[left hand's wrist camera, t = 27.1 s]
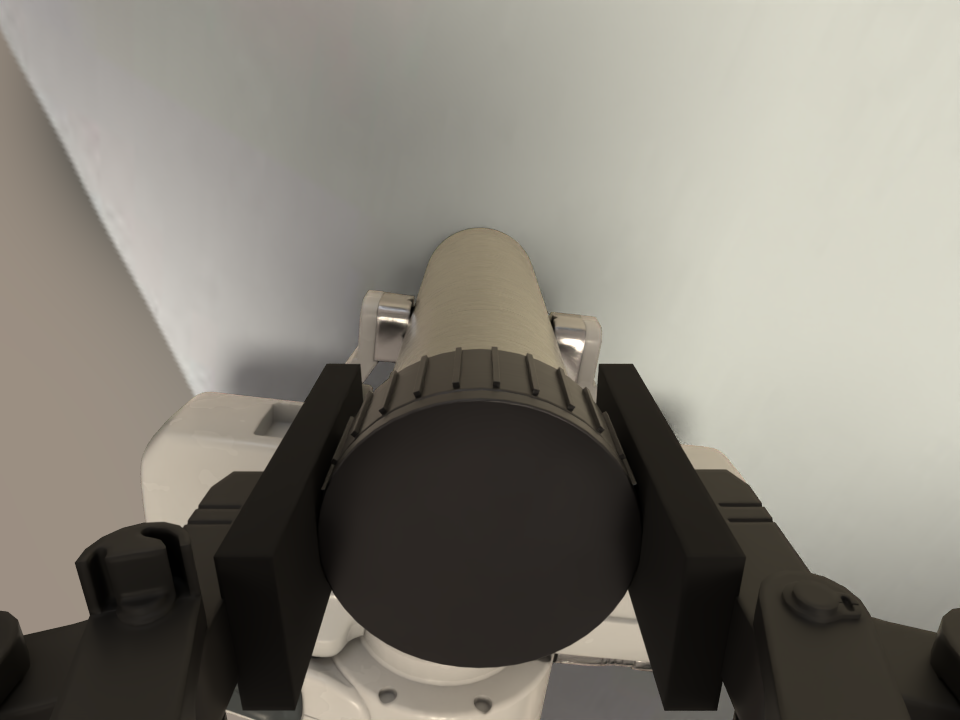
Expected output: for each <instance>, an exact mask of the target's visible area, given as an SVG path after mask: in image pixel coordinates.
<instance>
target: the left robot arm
mask: <svg viewBox="0 0 960 720" xmlns="http://www.w3.org/2000/svg"><path fill="white" fill-rule="evenodd" d="M362 404H363V390H362V376H361V364H326V366H325V368H324V369H323V371H322V373H321V374H320V376H319V378H318V380H317V381H316V383H315V385H314V386H313V388H312V390H311V391H310V393H309V395H308V397H307V398H306V400H305V402H304V403H303V405H302V407H301V408H300V410H299V412H298V414H297V415H296V417H295V419H294V420H293V422H292V424H291V426H290V427H289V429H288V431H287V432H286V434H285V436H284V437H283V439H282V441H281V443H280V444H279V446H278V448H277V449H276V451H275V453H274V454H273V456H272V458H271V460H270V461H269V463H268V465H267V466H266V468H265V470H264V471H233V472H232V473H230V474H229V475H227V476H226V477H225V478H223V479H222V480H220V481H219V482H217V483H216V484H215V485H213V486H212V487H211V488H210V489H209V491H208V492H207V494H206V495H205V496H204V498H203V499H202V501H201V502H200V504H199V505H198V509H195V511H194V512H193V514H192V515H191V516H190V518H189V519H188V523H187V525H184V526H183V528H182V527H181V526H180V525H176V524H172V523H168V522H146V523H141V524H137V525H133V526H129V527H124V528H122V529H119V530H117V531H115V532H113V533H110V534H108V535H106V536H104V537H102V538H100V539H99V540H97V541H96V542H95V543H93V544H92V545H91V546H89V547H88V548H86V549H85V550H84V552H83V553H82V554H81V555H80V557H79V558H78V559H77V561H76V562H75V565H76V569H77V572H78V575H79V579H80V582H81V586H82V589H83V593H84V596H85V600H86V603H87V606H88V610H89V613H90V617H89V619H88V620H85V621H82V622H79V623H75V624H72V625H67V626H63V627H58V628H54V629H50V630H45V631H41V632H37V633H32V634H28V635H23V634H22V631H21V628H20V625H19V622H18V620H17V619H16V618H15V617H14V616H12V615H11V614H10V613H9V612H6V611H0V720H227V716H226V709H227V706H228V704H229V702H230V699H231V697H232V695H233V692H234V690H235V687H236V685H237V684H238V689H239V694H240V700H241V705H242V710H243V711H295V709H296V706H297V703H298V699H299V696H300V693H301V690H302V686H303V683H304V680H305V676H306V673H307V670H308V667H309V663H310V660H311V657H312V653H313V650H314V647H315V643H316V640H317V637H318V634H319V630H320V627H321V624H322V620H323V617H324V614H325V611H326V607H327V604H328V601H329V597H330V594H331V591H332V589H331V588H330V586H329V584H328V582H327V580H326V577H325V575H324V572H323V569H322V566H321V563H320V556H319V548H318V539H317V518H318V511H319V506H320V503H321V500H322V496H323V495H321V488H322V485H323V483H324V481H325V478H326V476H327V473H328V471H329V468H330V466H331V461H332V458H333V456H334V454H335V451H336V449H337V446H338V444H339V442H340V439H341V437H342V434H343V432H344V430H345V427H346V425H347V422H348V420H349V418H350V416H352V417H354V418H355V416H356V414H357V413H358V411H359V410H360V408H361V406H362ZM596 404H597V406H598V407H599V409H600V410H601V412H602V413H604V412H605V411H606V412H607V414H608V415H609V418H610V420H611V422H612V425H613V427H614V430H615V432H616V435H617V437H618V439H619V441H620V444H621V446H622V448H623V451H624V453H625V456H626V458H627V460H628V463H629V465H630V468H631V470H632V472H633V475H634V477H635V480H636V482H637V485H638V489H636V490H635V491H636V494H637V497H638V501H639V505H640V508H641V513H642V522H643V535H642V544H641V553H640V560H639V565H638V568H637V570H636V573H635V576H634V579H633V581H632V583H631V585H630V587H629V589H628V592H629V595H630V599H631V602H632V605H633V609H634V612H635V615H636V618H637V622H638V625H639V628H640V632H641V635H642V638H643V641H644V645H645V648H646V651H647V655H648V658H649V661H650V664H651V668H652V671H653V674H654V678H655V681H656V684H657V688H658V691H659V694H660V697H661V701H662V704H663V707H664V711H717V708H718V703H719V698H720V692H721V687H722V682H723V683H724V685H725V687H726V690H727V692H728V695H729V697H730V699H731V702H732V704H733V707H734V709H735V711H734V716H733V720H960V608H957V609H952V610H951V611H950V612H948V613H947V614H946V615H945V616H943V618H942V620H941V623H940V626H939V629H938V632H937V633H935V632H931V631H927V630H922V629H918V628H913V627H909V626H904V625H900V624H896V623H891V622H887V621H883V620H880V619H877V618H873V617H871V615H870V614H869V612H868V611H867V609H866V608H865V606H864V605H863V603H862V602H861V600H860V599H859V598H857V597H856V596H855V595H854V594H853V593H851V592H850V591H849V590H848V589H846V588H845V587H844V586H842V585H840V584H838V583H836V582H834V581H832V580H830V579H828V578H826V577H823V576H819V575H816V574H812V573H811V572H810V571H809V570H808V568H807V567H806V565H805V564H804V562H803V561H802V560H801V558H800V557H799V555H798V554H797V552H796V551H795V550H794V548H793V547H792V545H791V544H790V543H789V541H788V540H787V538H786V537H785V535H784V534H783V533H782V531H781V530H780V528H779V527H778V526H777V524H776V523H775V522H773V521H772V517H771V516H770V514H769V513H768V511H767V510H766V509H765V507H762V503H761V501H760V500H759V499H758V497H757V496H756V494H755V493H754V492H753V490H752V489H751V487H750V486H749V485H748V484H747V483H745V482H744V481H742V480H741V479H740V478H738V477H737V476H735V475H734V474H732V473H731V472H730V471H728V470H727V469H694V467H693V465H692V464H691V462H690V460H689V459H688V457H687V455H686V453H685V452H684V450H683V448H682V447H681V445H680V443H679V442H678V440H677V438H676V436H675V435H674V433H673V431H672V430H671V428H670V426H669V424H668V423H667V421H666V419H665V418H664V416H663V414H662V413H661V411H660V409H659V407H658V406H657V404H656V402H655V401H654V399H653V397H652V396H651V394H650V392H649V390H648V389H647V387H646V385H645V384H644V382H643V380H642V379H641V377H640V375H639V373H638V372H637V370H636V368H635V367H634V365H633V364H599V371H598V385H597V398H596Z"/></svg>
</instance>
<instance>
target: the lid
mask: <svg viewBox="0 0 960 720" xmlns="http://www.w3.org/2000/svg"><path fill="white" fill-rule="evenodd" d="M636 489H638V485H637V482H636V480H635V477H634V475H633V472H632V470H631V468H630V465H629V463H628V460H627V458H626V456H625V453H624V451H623V448H622V446H621V444H620V441H619V439H618V437H617V435H616V432H615V430H614V427H613V425H612V422H611V420H610V418H609V415H608V414H607V412H606V411H605V412H604V413H602V412H601V410H600V409H599V407H598V406H597V404H596V403H595V402H594V400H593V398H592V395H591V393H590V390H589V389H588V388H587V387H585V388H584V389H583V388H581V387H580V386H579V385H578V384H577V383H576V382H575V381H573V380H572V379H571V378H570V377H568V376H567V375H565V372H564V369H562V368H560V367H558V369H556V368H554V367H552V366H550V365H548V364H546V363H543V362H541V361H539V360H537V359H534V358H533V355H532V354H529V353H527V354H526V356H525V355H522V354H518V353H513V352H507V351H502V350H498V347H492V348H491V349H468V350H462V347H458V348H456V350H455V351H452V352H447V353H442V354H438V355H435V356H432V357H429V358H428V357H427V355H425V356H422V357H421V361H418V362H416V363H414V364H412V365H410V366H407V367H406V368H404V369H402V370H401V371H399V372H397V371H396V370H394V371H393V372H391V374H390V377H389V379H388V380H386V381H385V382H384V383H383V384H382V385H380V386H379V387H378V388H377V389H376V390H375V391H374V392H373V393H372V392H371V391H369V392H368V393H367V394H366V396H365V399H364V401H363V404H362V406H361V408H360V410H359V411H358V413H357V414H356V416H355V418H354V417H352V416H350V418H349V420H348V422H347V425H346V427H345V430H344V432H343V434H342V437H341V439H340V442H339V444H338V446H337V449H336V451H335V454H334V456H333V458H332V461H331V466H330V468H329V471H328V473H327V476H326V478H325V481H324V483H323V485H322V488H321V495H323V496H322V500H321V503H320V506H319V511H318V518H317V539H318V548H319V556H320V563H321V566H322V569H323V572H324V575H325V577H326V580H327V582H328V584H329V586H330V588H331V589H332V591H333V593H334V595H335V596H336V598H337V599H338V601H339V602H340V603H341V605H342V606H343V608H344V609H345V610H346V611H347V612H348V613H349V614H350V615H351V617H352V618H353V619H354V620H355V621H356V622H357V623H358V624H360V625H361V626H362V627H363V628H364V629H366V630H367V631H368V632H369V633H370V634H372V635H373V636H375V637H376V638H378V639H379V640H381V641H382V642H384V643H386V644H387V645H389V646H391V647H393V648H395V649H397V650H399V651H401V652H403V653H406V654H408V655H411V656H414V657H416V658H419V659H422V660H426V661H430V662H434V663H437V664H442V665H448V666H455V667H465V668H496V667H504V666H511V665H518V664H522V663H526V662H530V661H534V660H537V659H540V658H543V657H546V656H549V655H551V654H554V653H556V652H558V651H560V650H562V649H564V648H566V647H568V646H571V645H572V644H574V643H575V642H577V641H579V640H580V639H582V638H583V637H585V636H586V635H588V634H589V633H590V632H591V631H593V630H594V629H595V628H596V627H598V626H599V625H600V624H601V623H602V622H603V621H604V620H605V619H606V618H607V617H608V616H609V615H610V614H611V613H612V612H613V611H614V609H615V608H616V607H617V605H618V604H619V603H620V601H621V600H622V599H623V597H624V596H625V594H626V592H627V590H628V589H629V587H630V585H631V583H632V581H633V579H634V576H635V573H636V570H637V568H638V565H639V560H640V553H641V544H642V535H643V522H642V513H641V508H640V505H639V501H638V497H637V494H636V491H635V490H636Z"/></svg>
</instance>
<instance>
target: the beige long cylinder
mask: <svg viewBox="0 0 960 720" xmlns="http://www.w3.org/2000/svg"><path fill="white" fill-rule="evenodd" d="M458 347H462V350H468V349H491V348H492V347H498V350H502V351H507V352H513V353H518V354H522V355H525V356H526V354H527V353H529V354H532V355H533V358H534V359H537V360H539V361H541V362H543V363H546V364H548V365H550V366H552V367H554V368H556V369H558V367H560V368H562V369H564V372H565V375H567V376H568V374H567V371H566V368H565V365H564V362H563V359H562V356H561V353H560V350H559V347H558V344H557V340H556V337H555V334H554V331H553V328H552V325H551V322H550V319H549V316H548V313H547V310H546V307H545V304H544V300H543V297H542V294H541V291H540V288H539V285H538V282H537V279H536V276H535V273H534V270H533V267H532V264H531V261H530V259H529V257H528V255H527V253H526V252H525V251H524V249H523V248H522V247H521V246H520V245H519V244H518V243H517V242H516V241H515V240H514V239H512V238H511V237H510V236H508V235H506V234H504V233H502V232H500V231H497V230H493V229H488V228H472V229H466V230H463V231H460V232H458V233H455V234H453V235H452V236H450V237H448V238H447V239H446V240H444V241H443V242H442V243H441V244H440V245H439V246H438V247H437V249H436V250H435V251H434V253H433V254H432V256H431V258H430V260H429V263H428V265H427V268H426V271H425V274H424V278H423V281H422V284H421V287H420V290H419V293H418V296H417V299H416V302H415V305H414V308H413V311H412V314H411V318H410V321H409V324H408V327H407V330H406V333H405V336H404V339H403V342H402V345H401V348H400V351H399V354H398V358H397V361H396V364H395V367H394V370H396V371H397V372H399V371H401V370H402V369H404V368H406V367H407V366H410V365H412V364H414V363H416V362H418V361H421V357H422V356H425V355H427V357H428V358H429V357H432V356H435V355H438V354H442V353H447V352H452V351H455V350H456V348H458ZM394 370H393V371H394Z"/></svg>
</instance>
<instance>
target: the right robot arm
mask: <svg viewBox="0 0 960 720" xmlns="http://www.w3.org/2000/svg"><path fill="white" fill-rule="evenodd" d="M414 299H415V297H414V296H411V295H403V294H396V293H389V292H384V291H373V290H368V292H367V294H366V295H365V297H364V299H363V302H362V307H361V313H360V324H359V341H358V346H357V348H356V349H355V351H354V352H353V353H352V355H351V356H350V357H349V359H348V360H347V362H346V363H345V364H361V376H362V390H363V401H364V399H365V396H366V394H367V393H368V392H369V391H371V392H372V393H373V388H372V387H371V386H370V385H366V384H363V382H364V381H365V380H366V378H367V377H368V376H369V374H370V373H371V371H372V370H373V369H374V367H375V366H376V365H377V363H378V362H379V361H385V362H396V361H397V358H398V354H399V351H400V348H401V345H402V342H403V339H404V336H405V333H406V330H407V327H408V324H409V321H410V318H411V314H412V311H413V308H414ZM549 319H550V322H551V325H552V328H553V331H554V334H555V337H556V340H557V344H558V347H559V350H560V353H561V356H562V359H563V362H564V365H565V368H566V371H567V374H568V377H570V378H571V379H572V380H573V381H575V382H576V383H577V384H578V385H579V386H580V387H581V388H583V389H584V388H585V387H587V388H588V389H589V390H590V393H591V395H592V398H593V400H594V402H595V403H596V398H597V386H596V384H595V381H594V377H595V372H596V367H597V362H598V357H599V352H600V347H601V342H602V329H601V326H600V324H599V322H598V320H597V319H596V317H592V316H583V315H575V314H566V313H556V312H551V313H550V315H549ZM303 403H304V402H297V401H288V400H279V399H270V398H261V397H252V396H243V395H234V394H226V393H218V392H204V393H201V394H198V395H196V396H195V397H194V398H192V399H191V400H190V401H189V402H188V403H186V404H185V405H184V406H183V407H182V408H180V409H179V410H178V411H177V412H176V413H175V414H174V415H173V416H171V417H170V418H169V419H168V420H167V421H166V422H165V423H164V425H163V426H162V427H161V428H160V429H159V430H158V432H157V433H156V434H155V435H154V436H153V438H152V439H151V441H150V442H149V443H148V445H147V447H146V449H145V451H144V453H143V456H142V460H141V490H142V500H143V508H144V516H145V523H146V522H168V523H172V524H176V525H180V526H181V527H182V528H183V526H184V525H187V523H188V519H189V518H190V516H191V515H192V514H193V512H194V511H195V509H198V505H199V504H200V502H201V501H202V499H203V498H204V496H205V495H206V494H207V492H208V491H209V489H210V488H211V487H212V486H213V485H215V484H216V483H217V482H219V481H220V480H222V479H223V478H225V477H226V476H227V475H229V474H230V473H232V472H233V471H264V470H265V468H266V466H267V465H268V463H269V461H270V460H271V458H272V456H273V454H274V453H275V451H276V449H277V448H278V446H279V444H280V443H281V441H282V439H283V437H284V436H285V434H286V432H287V431H288V429H289V427H290V426H291V424H292V422H293V420H294V419H295V417H296V415H297V414H298V412H299V410H300V408H301V407H302V405H303ZM680 445H681V447H682V448H683V450H684V452H685V453H686V455H687V457H688V459H689V460H690V462H691V464H692V465H693V467H694V469H727V470H728V471H730V472H731V473H732V474H734V475H735V476H737V477H738V478H740V479H741V480H742V481H744V482H745V480H744V479H743V477H742V476H741V475H740V473H739V472H738V471H737V470H736V468H735V467H734V466H733V465H732V463H731V462H730V461H729V460H728V458H727V457H726V456H725V455H724V454H723V453H722V452H720V451H719V450H717V449H714V448H709V447H702V446H693V445H684V444H680ZM745 483H746V482H745ZM554 662H555V663H564V664H574V665H585V666H606V665H608V666H611V665H615V666H620V665H621V666H626V667H631V668H632V669H635V670H639V671H652V668H651V664H650V661H649V658H648V655H647V651H646V648H645V645H644V641H643V638H642V635H641V632H640V628H639V625H638V622H637V618H636V615H635V612H634V609H633V605H632V602H631V599H630V595H629V592H628V590H627V592H626V594H625V596H624V597H623V599H622V600H621V601H620V603H619V604H618V605H617V607H616V608H615V609H614V611H613V612H612V613H611V614H610V615H609V616H608V617H607V618H606V619H605V620H604V621H603V622H602V623H601V624H600V625H599V626H598V627H596V628H595V629H594V630H593V631H591V632H590V633H589V634H588V635H586V636H585V637H583V638H582V639H580V640H579V641H577V642H575V643H574V644H572V645H571V646H568V647H566V648H564V649H562V650H560V651H558V652H556V653H554V654H551V655H549V656H546V657H543V658H540V659H537V660H534V661H530V662H526V663H522V664H518V665H511V666H504V667H496V668H465V667H455V666H448V665H442V664H437V663H434V662H430V661H426V660H422V659H419V658H416V657H414V656H411V655H408V654H406V653H403V652H401V651H399V650H397V649H395V648H393V647H391V646H389V645H387V644H386V643H384V642H382V641H381V640H379V639H378V638H376V637H375V636H373V635H372V634H370V633H369V632H368V631H367V630H366V629H364V628H363V627H362V626H361V625H360V624H358V623H357V622H356V621H355V620H354V619H353V618H352V617H351V615H350V614H349V613H348V612H347V611H346V610H345V609H344V608H343V606H342V605H341V603H340V602H339V601H338V599H337V598H336V596H335V595H334V593H333V591H331V594H330V597H329V601H328V604H327V607H326V611H325V614H324V617H323V620H322V624H321V627H320V630H319V634H318V637H317V640H316V643H315V647H314V650H313V653H312V657H311V660H310V663H309V667H308V670H307V673H306V676H305V680H304V683H303V686H302V690H301V693H300V696H299V699H298V703H297V706H296V709H295V711H243V710H242V705H241V700H240V694H239V689H238V684H237V685H236V687H235V690H234V692H233V695H232V697H231V699H230V702H229V704H228V706H227V709H226V712H227V713H230V714H234V715H236V716H239V717H242V718H245V719H248V720H540V717H541V713H542V708H543V704H544V699H545V694H546V690H547V686H548V681H549V677H550V672H551V668H552V664H553V663H554Z"/></svg>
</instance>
